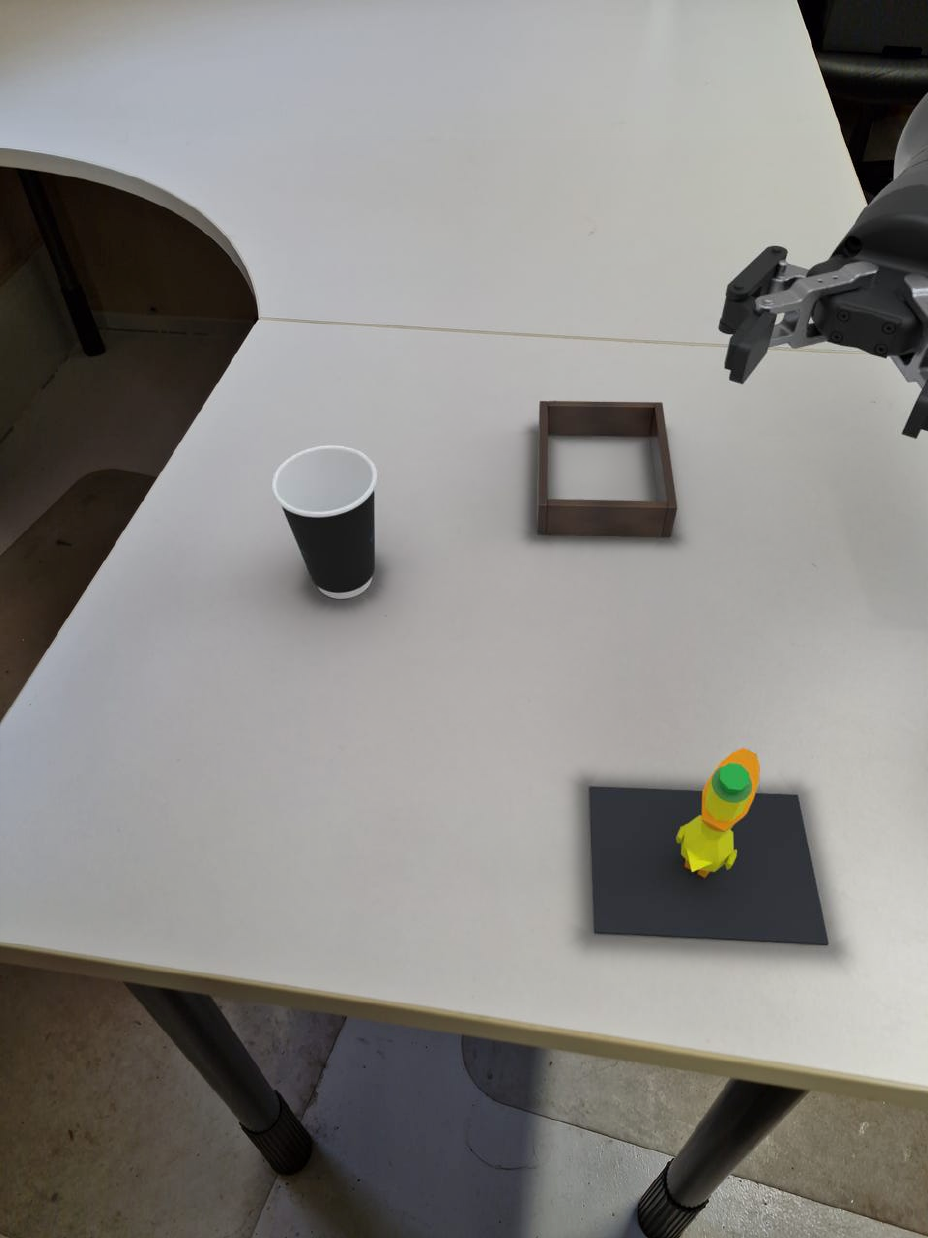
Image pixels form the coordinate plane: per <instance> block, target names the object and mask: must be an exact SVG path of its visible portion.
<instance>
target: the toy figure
mask: <svg viewBox="0 0 928 1238" xmlns="http://www.w3.org/2000/svg"><path fill="white" fill-rule="evenodd" d="M760 768H761V767H760V762H759V758H758V754H757V753H755V752H754V751H751V750H749V749H748V748H745V747H742V748H739V749H737V750H734V751H733V752H731V753H730V754H728V755H727V756H725V758H724V759H722V760H721V762H719V764H718V766H717V767H716V768H715V770H714V771H713V772H712V774H711V775H710V776H709V777H708V780H707V782H706V783H705V786H704V787H703V789H702V790H701V791H702V815H699V816H698V817H696V818H695V819H694V820H692V821H691V822H689V823H688V824H685V825H684V826H681V828H680V830H679V832H678V834H677V836H676V841H677V843H680V842H681V855H682V856H683V857H684V858H685V859H686V861H685V866H684V867H686V868H688V869H690V870H692V872H694V871H696V870H698V873H697V874H698V875H700V876H702V877H704V878H705V877H706V876H707V875H708V874H709V872H710V871H711V872H715V871H716V870H718V869H719V868H720V867H722V866H723V865H724V864H725V866H726V869H727V870H728V869H730V868H731V867H732V865H733V863H734V861H735V858H736V856H737V849H736V850H734V847H733V832H732V831H731V830H730V829H731V828H732V826H733V825H734V824H735V823H737V822H738V821H739V820H741V819H742V818H743V817H744V816H745V815H746V814H747V812H748V810H749V808H750V806H751V803H752V801H753V799H754V796H755V793H757V789H758V785H759V781H760V772H761V771H760Z"/></svg>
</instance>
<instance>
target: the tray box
mask: <svg viewBox="0 0 928 1238" xmlns="http://www.w3.org/2000/svg"><path fill="white" fill-rule="evenodd" d="M538 403H539V406H538V427H537V504H536V506H537V507H536V509H537V511H536V534H537V535H548V536H549V535H551V536H553V535H554V536H555V535H557V536H594V537H595V536H598V537H600V536H601V537H642V538H647V537H648V538H671V537H672V535H673V529H674V525H675V520H676V515H677V512H678V511H677V510H678V503H677V495H676V489H675V488H676V487H675V482H674V474H673V468H672V461H671V460H672V459H671V454H670V453H671V452H670V447H669V446H670V445H669V439H668V433H667V425H666V419H665V411H664V403H663V402H660V401H659V402H658V401H655V402H654V401H650V402H649V401H589V400H587V401H584V400H583V401H582V400H581V401H580V400H578V401H577V400H575V401H574V400H540V401H539V402H538ZM549 436H573V437H574V436H575V437H577V436H581V437H582V436H583V437H640V438H641V437H648V438H649V441H650V449H651V450H650V451H651V458H652V466H653V474H654V482H655V483H654V484H655V491H656V492H655V493H656V498H657V500H622V499H621V500H617V499H616V500H614V499H610V500H609V499H569V498H567V499H565V498H563V499H562V498H561V499H560V498H549Z"/></svg>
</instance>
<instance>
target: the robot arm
mask: <svg viewBox="0 0 928 1238" xmlns="http://www.w3.org/2000/svg"><path fill="white" fill-rule="evenodd" d="M788 253H789V251H788V249H787V248H786V247H784V246H781V245H770V246H767V247H766V248H764V250H762V251H761V253H759V254H758V255H757V256H756V257H755V258H754V259H753V260H752V261H751V262H750V263H749V264H748V265H747V266H746V267H745V268H743V270H741V271H740V272H739V273H738V274H737V275H736V276H735V277H734V278H733V279H732V280H731V281H730V282H729V283H728V284H727V285H726V290H725V298H724V304H723V309H722V313H721V316H720V319H719V322H718V327H717V328H718V331H719V332H721V333H722V334H725V335H731V336H730V338H729V342H728V345H727V350H726V355H725V359H724V363H723V364H724V370H729V376H728V381H731V382H734V383H737V384H740V385H744V384H745V382H746V381H747V380H748V379H749V377H750V376H751V374H752V373H753V372H754V371H755V370H756V368H757V367H758V365H759V364H760V363H761V362H762V360H763V359H764V357H765V356H766V355H767V353H768V351H769V349H770V348H773V347H777V346H781V345H785V344H787V345H788V346H789V347H790V348H792V349H794V350H795V349H801V348H805V347H810V346H813V345H817V344H822V343H831V344H834V345H838V346H841V347H847V348H854V349H858V350H861V351H863V352H865V353H867V354H869V355H872V356H874V357H875V356H876V357H879V358H882V359H887V358H890V359H891V360H892V362H893V364H894V365H895V366H896V368H897V370H899V372H900V373H901V374H902V377H903V378H904V380H905V381H906V382H907V383H917V384H918V386H919V387H920V389H921V390H920V393H918V396H917V398H916V400H915V402H914V405H913V407H912V408H911V410H910V414H909V416H908V418H907V420H906V422H905V425H904V427H903V429H902V432H901V435H902V436H906V437H909V438H912V439H914V440H917V439H918V437H919V435H920V433H921V431H926V432H928V92H927V93H925V94H924V95H923V97H922V98H921V100H920V101H919V102H918V104H917V105H916V106H915V108H914V109H913V110H912V113H911V114H910V116H909V118H908V120H907V122H906V123H905V125H904V127H903V129H902V132H901V134H900V137H899V140H898V143H897V146H896V150H895V156H894V164H893V180H891V182H890V183H888V184H887V185H886V186H885V187H884V188H882V189H881V190H880V192H878V194H877V195H876V196H875V197H874V198H873V199H872V201H871V202H870V203H869V204H868V205H866V206H865V207H863V209H862V211H861V212H860V214H859V215H858V217H857V218H856V220H855V222H854V223H853V225H852V226H851V228H850V229H849V230H848V231H847V233H846V234H845V235H844V237H843V238H842V239H841V240H840V242H839V243H838V245H837V246H836V247H835V249H834V250H833V252H832V253H831V254H830V256H829V258H828V259H827V260H825V261H822V262H818V263H816V264H814V265H813V266H812V267H810V269H808V268H805V267H801V266H798V265H795V264H791V263H789V262H787V261H786V260H787V256H788ZM779 314H783V318H782V320H781V321H780V322H779V323H777V324H776V321H777V318H778V315H779ZM810 320H811V321H812V322H810Z"/></svg>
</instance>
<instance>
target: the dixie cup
mask: <svg viewBox="0 0 928 1238" xmlns="http://www.w3.org/2000/svg"><path fill="white" fill-rule="evenodd" d="M374 463H375V462H373V460H372V459H371V458H370V457H369V456H367V455H366V454H365V453H363V452H362V451H360V450H357V449H356V448H353V447H349V446H345V445H336V444H335V445H331V444H329V445H328V444H327V445H319V446H313V447H309V448H306V449H303V450H301V451H298V452H296V453H294V454H293V455H291V456H290V457H288V458H287V459H286V460H284V461H283V462H282V463H281V464H280V465H279V466H278V467H277V469H276V470H275V471H274V474H273V476H272V479H271V492H272V495H273V498H274V500H275V501H276V502H277V503H278V505H280V506H281V509H282V511H283V513H284V516H285V519H286V520H287V521H286V522H287V523H288V525H289V528H290V530H291V532H292V535H293V538H294V540H295V542H296V544H297V547H298V549H299V552H300V554H301V557H302V559H303V562H304V564H305V566H306V568H307V571H308V573H309V576H310V579H311V580H312V582H313V583H314V585H315V586H316V587H317V588H318V590H319V591H320V592H321V593H322V594H323V595H325V596H326V597H329V598H331V599H337V600H345V599H351V598H354V597H357V596H359V595H360V594H363V593H364V592H365V591H366V590H367V589H369V587H370V585H371V583H372V581H373V575H374V573H375V569H376V532H375V531H376V529H375V527H376V525H375V524H376V521H375V520H376V519H375V518H376V517H375V516H376V515H375V512H376V511H375V509H376V508H375V489H376V487H377V483H378V476H379V475H378V471H377V467H376V465H375V464H374Z"/></svg>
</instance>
